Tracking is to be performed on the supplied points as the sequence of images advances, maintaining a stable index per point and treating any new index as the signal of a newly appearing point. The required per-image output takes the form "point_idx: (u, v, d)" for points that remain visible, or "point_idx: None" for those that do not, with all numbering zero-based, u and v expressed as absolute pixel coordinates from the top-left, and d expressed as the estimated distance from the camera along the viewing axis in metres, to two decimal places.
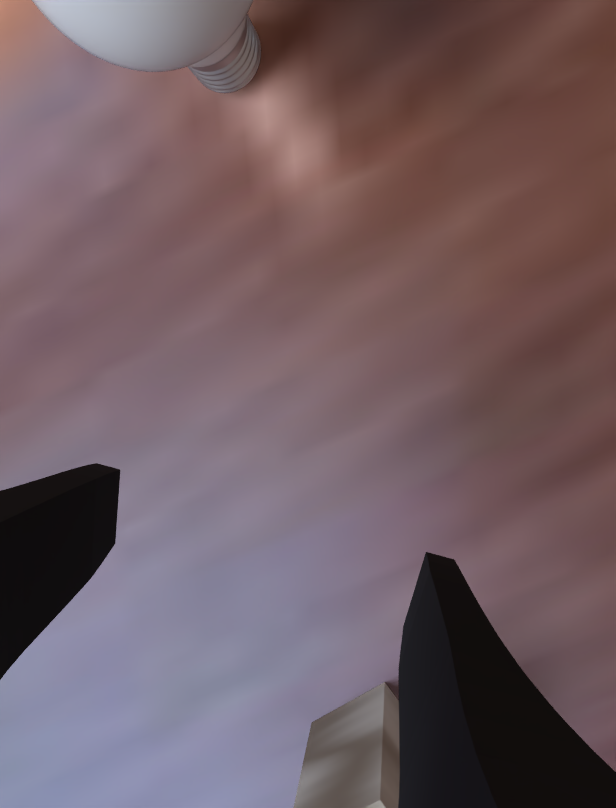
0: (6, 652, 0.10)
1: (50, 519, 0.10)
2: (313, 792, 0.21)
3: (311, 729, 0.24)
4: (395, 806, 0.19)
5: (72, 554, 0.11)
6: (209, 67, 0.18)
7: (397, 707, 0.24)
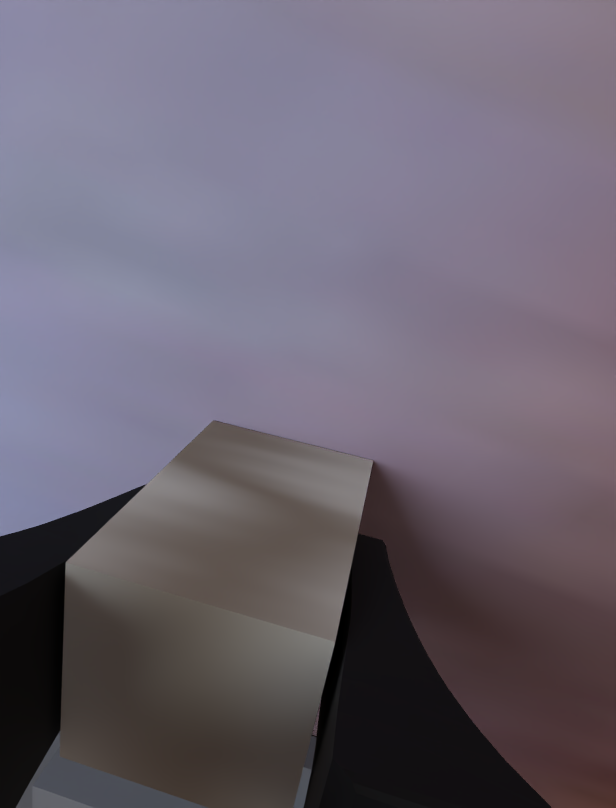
0: None
1: None
2: (175, 515, 0.10)
3: (209, 428, 0.13)
4: None
5: None
6: None
7: None
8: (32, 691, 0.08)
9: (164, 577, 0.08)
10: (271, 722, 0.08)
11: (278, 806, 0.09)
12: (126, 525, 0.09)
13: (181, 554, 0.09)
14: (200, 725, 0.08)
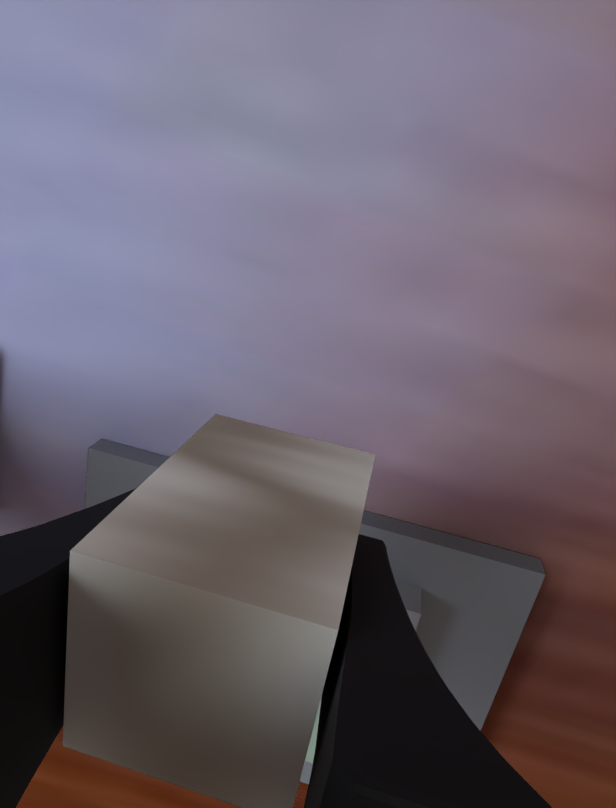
0: None
1: None
2: (179, 506, 0.10)
3: (211, 421, 0.13)
4: None
5: None
6: None
7: None
8: (32, 691, 0.08)
9: (167, 566, 0.08)
10: (274, 711, 0.08)
11: (280, 795, 0.09)
12: (130, 515, 0.09)
13: (184, 544, 0.09)
14: (203, 714, 0.09)
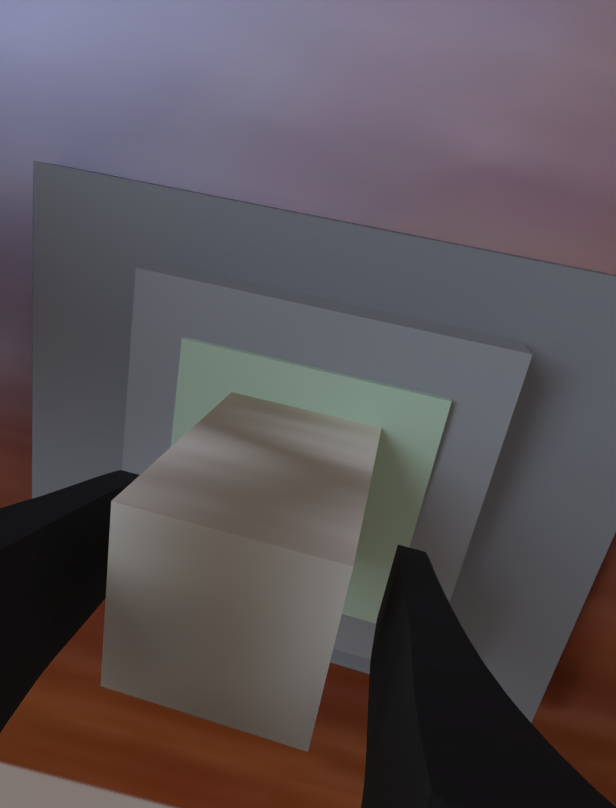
0: (36, 661, 0.10)
1: (79, 527, 0.10)
2: (204, 467, 0.10)
3: (228, 398, 0.14)
4: None
5: (99, 562, 0.11)
6: None
7: None
8: None
9: (199, 514, 0.09)
10: (295, 645, 0.09)
11: (300, 724, 0.10)
12: (161, 474, 0.10)
13: (212, 498, 0.10)
14: (231, 650, 0.09)
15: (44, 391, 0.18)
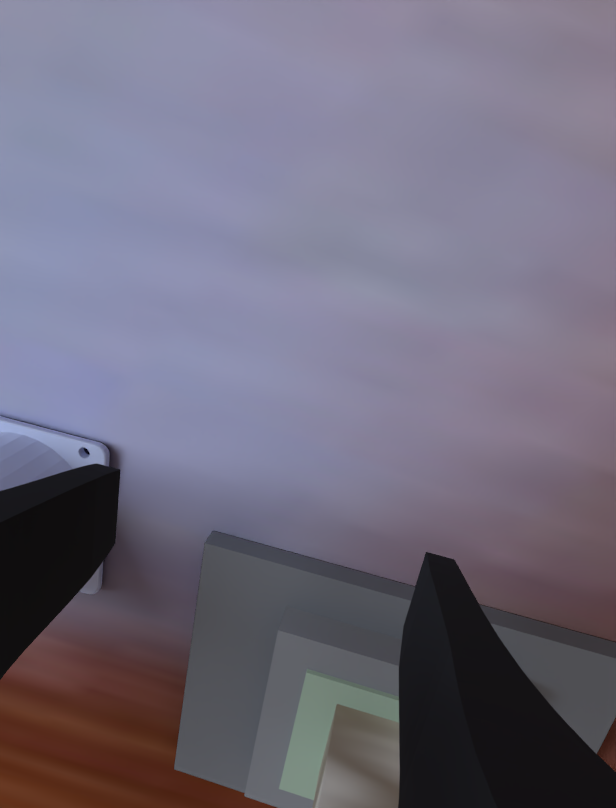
0: (6, 651, 0.10)
1: (50, 519, 0.10)
2: None
3: (336, 714, 0.22)
4: None
5: (72, 554, 0.11)
6: None
7: None
8: None
9: None
10: None
11: None
12: None
13: None
14: None
15: (196, 665, 0.26)
